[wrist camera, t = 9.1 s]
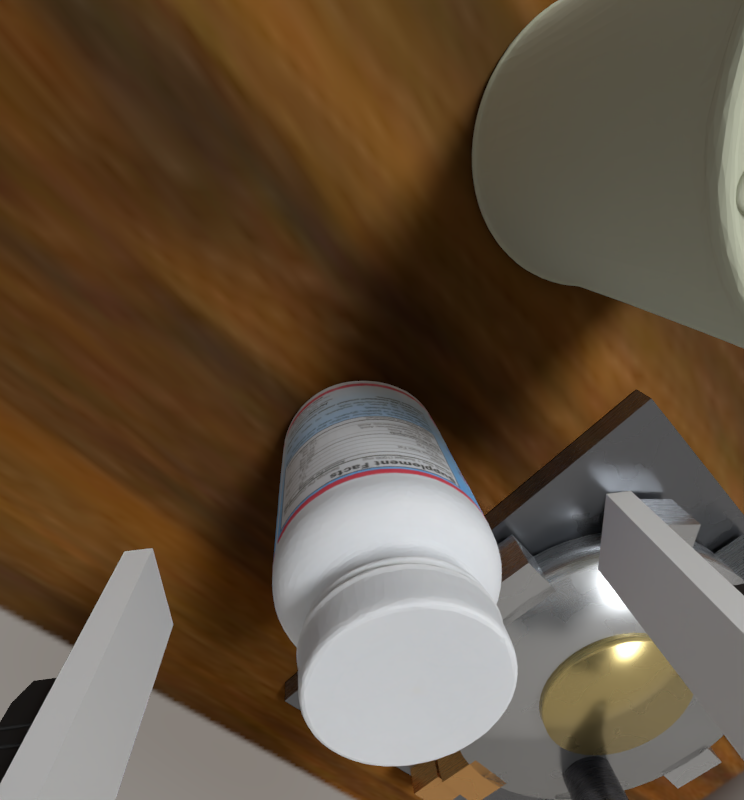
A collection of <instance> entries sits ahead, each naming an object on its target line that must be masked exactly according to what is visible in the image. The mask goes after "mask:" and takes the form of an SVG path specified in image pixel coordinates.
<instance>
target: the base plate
mask: <svg viewBox="0 0 744 800" xmlns="http://www.w3.org/2000/svg"><path fill="white" fill-rule="evenodd" d="M626 491H632V492H633V493H634V494H635V495H636V496H637V497H638V498H639V499H672V500H673V501H674V502H675V503H676V504H678V505H679V506H680V507H681V508H682V509H683V510H685V511H686V512H687V513H688V514H689V515H690V516H692V517H693V518H694V519H695V520H696V521H697V522H698V523H700V524H701V526H700V528H699V531H698V534H697V537H696V539H695V542H697V543H699V544H701V545H702V546H704V547H706V548H707V549H709V550H710V551H711V552H713V553H714V554H715V553H716V552H718V551H719V550H721V549H722V548H724V547H725V546H726V545H728V544H729V543H731V542H732V541H734V540H735V539H737V538H738V537H740V536H741V535H743V534H744V515H743V514H742V512H741V511H740V510H739V509H738V507H737V506H736V505H735V504H734V502H733V501H732V500H731V499H730V497H729V496H728V495H727V493H726V492H725V491H724V490H723V488H722V487H721V486H720V485H719V483H718V482H717V481H716V480H715V478H714V477H713V476H712V475H711V473H710V472H709V471H708V469H707V468H706V467H705V466H704V464H703V463H702V462H701V461H700V459H699V458H698V457H697V456H696V454H695V453H694V452H693V451H692V449H691V448H690V447H689V445H688V444H687V443H686V442H685V440H684V439H683V438H682V437H681V435H680V434H679V433H678V432H677V430H676V429H675V428H674V427H673V425H672V424H671V423H670V421H669V420H668V419H667V418H666V416H665V415H664V414H663V413H662V411H661V410H660V409H659V408H658V406H657V405H656V404H655V403H654V401H653V400H652V399H651V398H650V397H648V396H646V395H645V394H643V393H642V392H640V391H638V390H635V391H634V392H633V393H632V394H631V395H629V396H628V397H627V398H626V399H625V400H623V401H622V402H621V403H620V404H619V405H617V406H616V407H615V408H614V409H613V410H611V411H610V412H609V413H608V414H607V415H605V416H604V417H603V418H602V419H601V420H599V421H598V422H597V423H596V424H595V425H593V426H592V427H591V428H590V429H589V430H587V431H586V432H585V433H584V434H583V435H581V436H580V437H579V438H578V439H577V440H575V441H574V442H573V443H572V444H571V445H569V446H568V447H567V448H566V449H565V450H563V451H562V452H561V453H560V454H559V455H557V456H556V457H555V458H554V459H553V460H552V461H550V462H549V463H548V464H547V465H546V466H544V467H543V468H542V469H541V470H540V471H538V472H537V473H536V474H535V475H534V476H532V477H531V478H530V479H529V480H528V481H526V482H525V483H524V484H523V485H522V486H520V487H519V488H518V489H517V490H516V491H514V492H513V493H512V494H511V495H510V496H508V497H507V498H506V499H505V500H504V501H502V502H501V503H500V504H499V505H498V506H496V507H495V508H494V509H493V510H492V511H490V512H489V513H488V514H487V515H486V516H484V517H485V518H486V520H487V522H488V524H489V526H490V528H491V530H492V533H493V535H494V537H495V540H496V543H497V545H498V544H500V543H501V542H502V541H504V540H505V539H506V538H508V537H509V536H510V535H513V536H514V537H515V538H516V539H517V540H518V541H519V542H520V543H521V544H522V545H523V546H524V547H525V548H526V549H527V550H528V552H529V553H530V554H531V555H532V556H535V555H537V554H539V553H541V552H543V551H545V550H547V549H549V548H551V547H554V546H556V545H559V544H561V543H564V542H566V541H569V540H573V539H576V538H580V537H583V536H587V535H590V534H596V533H601V532H602V527H603V518H604V509H605V500H606V494H609V493H618V492H626ZM285 702H287V703H289V704H290V705H292V706H294V707H296V708H297V709H299V710H301V708H300V703H299V695H298V672H297V673H296V674H295V675H294V676H293V677H291V678H290V679H289V680H288V681H287V682H285ZM396 767H397V768H399V769H401V770H402V771H404V772H406V773H408V774H409V775H411V778H412V783H413V789H414V794H415V795H417V796H419V797H421V798H422V799H424V800H467V799H466V798H464V797H463V796H461V795H460V794H458V793H457V792H455V791H454V790H453V789H451V788H450V787H448V786H447V785H445V784H444V783H442V779H441V774H440V770H439V766H438V761H437V759H436V760H433V761H429V762H425V763H420V764H414V765H408V766H396ZM482 800H540V798H536V797H530V796H525V795H521V794H518V793H514V792H511V791H508V790H506V789H503V788H499V789H497V790H496V791H494V792H493V793H491V794H490V795H488V796H487V797H485V798H483V799H482Z"/></svg>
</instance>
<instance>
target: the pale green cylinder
mask: <svg viewBox="0 0 744 800" xmlns="http://www.w3.org/2000/svg"><path fill="white" fill-rule="evenodd" d="M472 174H473V182H474V188H475V193H476V197H477V201H478V205H479V208H480V211H481V213H482V216H483V218H484V220H485V222H486V225H487V227H488V229H489V230H490V232H491V234H492V235H493V237H494V238H495V240H496V241H497V243H498V244H499V245H500V247H501V248H502V249H503V250H504V251H505V252H506V253H507V255H508V256H509V257H511V258H512V259H513V260H514V261H515V262H516V263H517V264H519V265H520V266H521V267H523V268H524V269H526V270H527V271H529V272H531V273H533V274H534V275H536V276H538V277H541V278H543V279H546V280H548V281H551V282H555V283H559V284H563V285H569V286H579V287H582V288H585V289H588V290H590V291H593V292H596V293H599V294H602V295H605V296H607V297H610V298H613V299H616V300H619V301H622V302H624V303H627V304H630V305H632V306H635V307H638V308H640V309H643V310H646V311H648V312H651V313H654V314H656V315H659V316H661V317H664V318H667V319H669V320H672V321H675V322H677V323H680V324H683V325H685V326H688V327H690V328H693V329H696V330H698V331H701V332H704V333H706V334H709V335H711V336H714V337H716V338H719V339H721V340H724V341H726V342H729V343H732V344H734V345H737V346H739V347H742V348H744V0H558V1H556V2H555V3H553V4H552V5H550V6H549V7H548V8H546V9H545V10H544V11H542V12H541V13H540V14H539V15H538V16H536V17H535V18H534V19H533V20H532V21H531V22H530V23H529V24H528V25H527V26H526V27H525V28H524V29H523V30H522V31H521V32H520V33H519V35H518V36H517V37H516V38H515V39H514V41H513V42H512V43H511V44H510V46H509V47H508V49H507V50H506V52H505V53H504V55H503V56H502V58H501V59H500V61H499V63H498V65H497V66H496V68H495V70H494V72H493V74H492V75H491V78H490V80H489V82H488V84H487V87H486V89H485V92H484V95H483V97H482V100H481V103H480V106H479V110H478V114H477V118H476V122H475V128H474V135H473V143H472Z"/></svg>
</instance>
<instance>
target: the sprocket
mask: <svg viewBox="0 0 744 800" xmlns="http://www.w3.org/2000/svg"><path fill="white" fill-rule="evenodd" d="M640 500H641V501H642V502H643V503H645V504H646V505H647V506H648V507H649V508H650V509H651V510H652V511H653V512H654V513H655V514H656V515H657V516H659V517H660V518H661V519H662V520H663V521H664V522H665V523H666V524H667V525H668V526H669V527H670V528H671V529H673V530H674V531H675V532H676V533H677V534H678V535H679V536H680V537H681V538H682V539H683V540H684V541H686V542H687V543H688V544H689V545H690V546H691V547H692V548H693V549H694V550H695V551H696V552H697V553H698V554H700V555H701V556H702V557H703V558H704V559H705V560H706V561H707V562H708V563H709V564H710V565H711V566H712V567H714V568H715V569H716V570H717V571H718V572H719V573H720V574H721V575H722V576H723V577H724V578H725V579H727V580H728V581H729V582H730V583H731V584H732V585H739V584H744V534H743V535H741V536H740V537H738V538H737V539H735V540H734V541H732V542H731V543H729V544H728V545H726V546H725V547H724V548H722V549H721V550H719V551H718V552H716V553H715V554H714V553H713V552H711V551H710V550H709V549H707V548H706V547H704V546H702V545H701V544H699V543H697V542H695V539H696V537H697V534H698V531H699V528H700V526H701V524H700V523H698V522H697V521H696V520H695V519H694V518H693V517H692V516H690V515H689V514H688V513H687V512H686V511H685V510H683V509H682V508H681V507H680V506H679V505H678V504H676V503H675V502H674V501H673V500H672V499H640ZM601 536H602V532H601V533H596V534H590V535H587V536H583V537H580V538H576V539H573V540H569V541H566V542H564V543H561V544H559V545H556V546H554V547H551V548H549V549H547V550H545V551H543V552H541V553H539V554H537V555H535V556H532V555H531V554H530V553H529V552H528V550H527V549H526V548H525V547H524V546H523V545H522V544H521V543H520V542H519V541H518V540H517V539H516V538H515V537H514V536H513V535H510V536H509V537H508V538H506V539H505V540H504V541H502V542H501V543H500V544H498V545H497V546H498V549H499V553H500V558H501V565H502V580H501V589H500V594H499V598H498V602H497V607H498V608H499V611H500V613H501V616H502V619H503V624H504V626H505V628H506V630H507V632H508V635H509V637H510V639H511V641H512V644H513V647H514V650H515V654H516V658H517V665H518V669H517V672H518V675H517V683H516V688H515V691H514V694H513V697H512V699H511V701H510V703H509V705H508V707H507V709H506V710H505V712H504V713H503V714H502V716H501V717H500V719H499V720H498V721H497V722H496V723H495V724H494V725H493V726H492V727H491V728H490V729H489V731H487V732H486V733H485V734H484V735H482V736H481V737H480V738H478V739H477V740H476V741H474V742H473V743H471V744H469V745H468V746H466V747H464V748H463V749H461V750H459V751H457V752H455V753H453V754H450V755H448V756H445V757H442V758H439V759H437V761H438V766H439V770H440V774H441V779H442V783H444V784H445V785H447V786H448V787H450V788H451V789H453V790H454V791H455V792H457V793H458V794H460V795H461V796H463V797H464V798H466V799H467V800H482V799H483V798H485V797H487V796H488V795H490V794H491V793H493V792H494V791H496V790H497V789H499V788H503V789H506V790H508V791H511V792H514V793H518V794H521V795H525V796H530V797H536V798H540V800H629V799H628V798H627V796H626V794H625V792H624V790H627V789H630V788H634V787H636V786H639V785H642V784H644V783H647V782H650V781H652V780H654V779H656V778H659V777H661V776H663V775H664V776H665V777H666V778H667V779H668V780H669V781H670V782H672V783H673V784H674V785H675V786H676V787H677V788H680V787H681V786H683V785H685V784H686V783H688V782H689V781H691V780H693V779H694V778H696V777H698V776H699V775H701V774H703V773H704V772H706V771H708V770H709V769H711V768H713V767H714V766H716V765H718V764H719V763H721V761H720V760H719V758H718V757H717V755H716V754H715V753H714V751H713V750H712V748H711V747H710V746H711V745H713V744H714V743H715V742H716V741H718V740H719V739H720V738H721V737H722V736H723V735H724V734H723V733H722V731H721V730H720V729H719V727H718V726H717V725H716V724H715V722H714V721H713V720H712V718H711V717H710V716H709V714H708V713H707V712H706V710H705V709H704V708H703V706H702V705H701V704H700V703H699V701H698V700H697V699H696V697H695V696H694V695H693V693H692V692H691V691H690V689H689V688H688V687H687V686H686V684H685V683H684V682H683V680H682V679H681V678H680V676H679V675H678V674H677V672H676V671H675V670H674V668H673V667H672V666H671V665H670V663H669V662H668V661H667V659H666V658H665V657H664V655H663V654H662V653H661V651H660V650H659V649H658V647H657V646H656V645H655V644H654V642H653V641H652V640H651V638H650V637H649V636H648V634H647V633H646V632H645V630H644V629H643V628H642V627H641V625H640V624H639V623H638V621H637V620H636V619H635V617H634V616H633V615H632V613H631V612H630V611H629V609H628V608H627V607H626V606H625V604H624V603H623V602H622V600H621V599H620V598H619V596H618V595H617V594H616V592H615V591H614V590H613V588H612V587H611V586H610V585H609V583H608V582H607V581H606V579H605V578H604V577H603V575H602V574H601V573H600V571H599V570H598V564H599V555H600V545H601Z"/></svg>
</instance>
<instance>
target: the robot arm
mask: <svg viewBox="0 0 744 800" xmlns="http://www.w3.org/2000/svg"><path fill="white" fill-rule="evenodd" d="M598 570H599V571H600V573H601V574H602V575H603V577H604V578H605V579H606V581H607V582H608V583H609V585H610V586H611V587H612V588H613V590H614V591H615V592H616V594H617V595H618V596H619V598H620V599H621V600H622V602H623V603H624V604H625V606H626V607H627V608H628V609H629V611H630V612H631V613H632V615H633V616H634V617H635V619H636V620H637V621H638V623H639V624H640V625H641V627H642V628H643V629H644V630H645V632H646V633H647V634H648V636H649V637H650V638H651V640H652V641H653V642H654V644H655V645H656V646H657V647H658V649H659V650H660V651H661V653H662V654H663V655H664V657H665V658H666V659H667V661H668V662H669V663H670V665H671V666H672V667H673V668H674V670H675V671H676V672H677V674H678V675H679V676H680V678H681V679H682V680H683V682H684V683H685V684H686V686H687V687H688V688H689V689H690V691H691V692H692V693H693V695H694V696H695V697H696V699H697V700H698V701H699V703H700V704H701V705H702V706H703V708H704V709H705V710H706V712H707V713H708V714H709V716H710V717H711V718H712V720H713V721H714V722H715V724H716V725H717V726H718V727H719V729H720V730H721V731H722V733H723V734H724V735H725V737H726V738H727V739H728V741H729V742H730V743H731V744H732V746H733V747H734V748H735V750H736V751H737V752H738V754H739V755H740V756H741V758H742V759H743V760H744V584H739V585H732V584H731V583H730V582H729V581H728V580H727V579H725V578H724V577H723V576H722V575H721V574H720V573H719V572H718V571H717V570H716V569H715V568H714V567H712V566H711V565H710V564H709V563H708V562H707V561H706V560H705V559H704V558H703V557H702V556H701V555H700V554H698V553H697V552H696V551H695V550H694V549H693V548H692V547H691V546H690V545H689V544H688V543H687V542H686V541H684V540H683V539H682V538H681V537H680V536H679V535H678V534H677V533H676V532H675V531H674V530H673V529H671V528H670V527H669V526H668V525H667V524H666V523H665V522H664V521H663V520H662V519H661V518H660V517H659V516H657V515H656V514H655V513H654V512H653V511H652V510H651V509H650V508H649V507H648V506H647V505H646V504H645V503H643V502H642V501H641V500H640V499H639V498H638V497H637V496H636V495H635V494H634V493H633V492H632V491H626V492H618V493H609V494H606V500H605V509H604V518H603V527H602V536H601V545H600V555H599V564H598ZM172 627H173V621H172V618H171V614H170V610H169V607H168V603H167V599H166V596H165V592H164V588H163V585H162V581H161V577H160V574H159V570H158V566H157V562H156V559H155V555H154V551H153V548H149V549H141V550H133V551H124V553H123V555H122V557H121V559H120V561H119V562H118V564H117V566H116V568H115V570H114V572H113V574H112V576H111V577H110V579H109V581H108V583H107V585H106V587H105V589H104V590H103V592H102V594H101V596H100V598H99V600H98V602H97V604H96V605H95V607H94V609H93V611H92V613H91V615H90V617H89V619H88V620H87V622H86V624H85V626H84V628H83V630H82V632H81V633H80V635H79V637H78V639H77V641H76V643H75V645H74V647H73V648H72V650H71V652H70V654H69V656H68V658H67V660H66V662H65V663H64V665H63V667H62V669H61V671H60V673H59V675H58V677H57V678H52V679H45V680H38V681H33V682H32V683H31V684H30V685H29V686H28V687H27V688H26V689H25V690H24V691H23V692H22V693H21V694H20V695H19V696H18V697H17V698H16V699H15V700H14V701H13V702H12V703H11V705H10V706H9V708H8V710H7V712H6V713H5V715H4V717H3V718H2V720H1V722H0V800H116V797H117V794H118V791H119V788H120V785H121V782H122V779H123V776H124V773H125V770H126V767H127V763H128V761H129V758H130V755H131V751H132V748H133V745H134V742H135V739H136V736H137V733H138V730H139V727H140V724H141V721H142V718H143V715H144V712H145V709H146V706H147V703H148V700H149V697H150V694H151V691H152V688H153V685H154V682H155V679H156V676H157V673H158V670H159V666H160V663H161V660H162V657H163V654H164V651H165V648H166V645H167V642H168V639H169V636H170V633H171V630H172Z"/></svg>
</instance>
